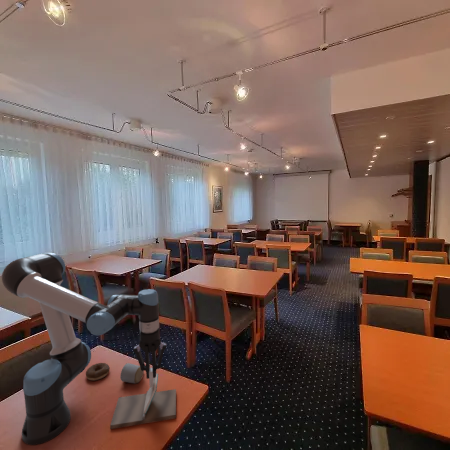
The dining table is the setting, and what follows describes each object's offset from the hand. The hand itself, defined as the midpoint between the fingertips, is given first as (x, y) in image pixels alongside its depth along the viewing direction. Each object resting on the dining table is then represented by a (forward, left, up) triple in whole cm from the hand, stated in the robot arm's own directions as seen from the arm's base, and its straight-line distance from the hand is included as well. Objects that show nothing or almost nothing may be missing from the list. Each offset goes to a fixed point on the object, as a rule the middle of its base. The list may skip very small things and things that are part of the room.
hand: (151, 384), depth 105 cm
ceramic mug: (-11, +20, -11) cm, 25 cm away
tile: (-1, 0, -3) cm, 3 cm away
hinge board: (-3, 0, -10) cm, 11 cm away
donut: (-29, +27, -11) cm, 41 cm away
